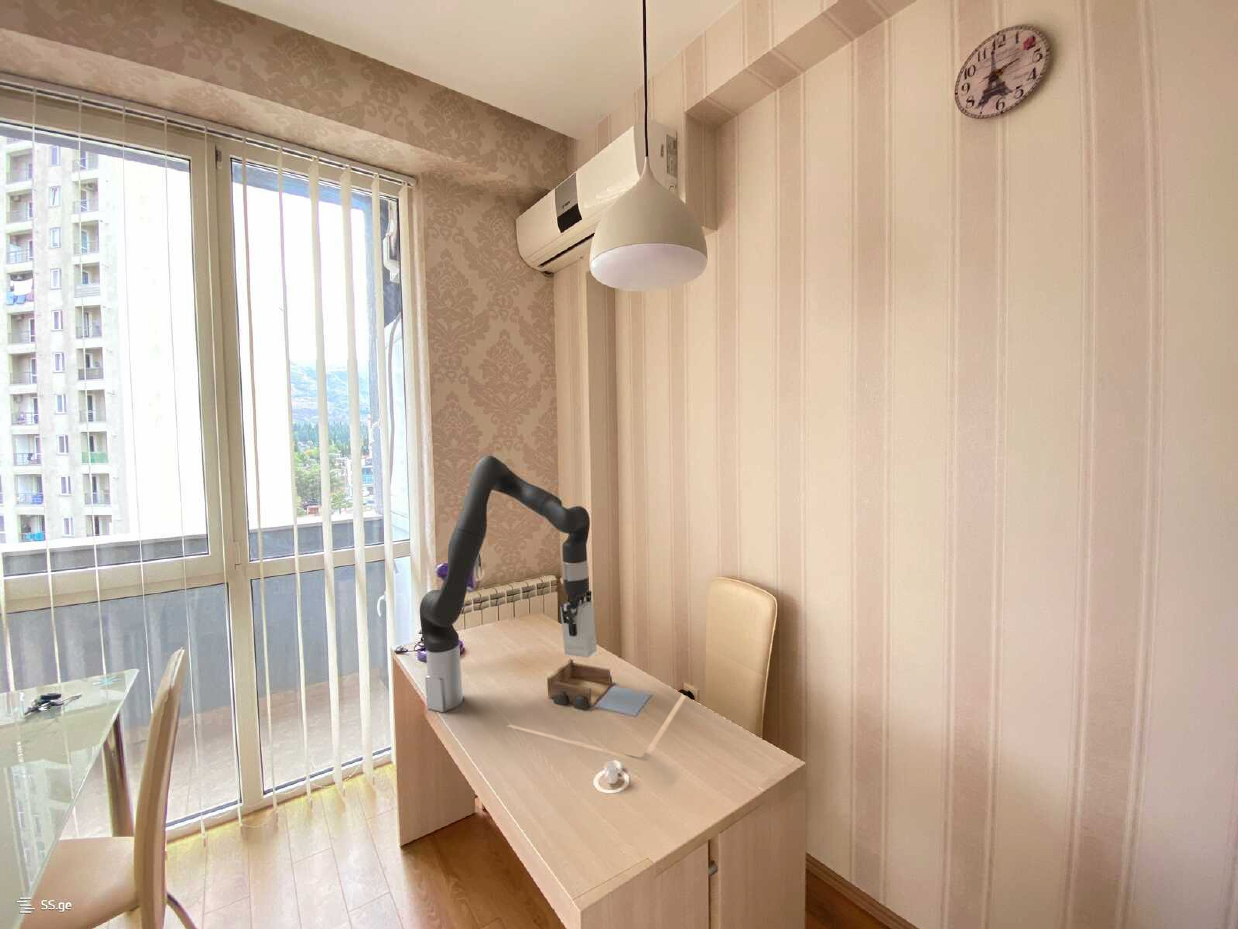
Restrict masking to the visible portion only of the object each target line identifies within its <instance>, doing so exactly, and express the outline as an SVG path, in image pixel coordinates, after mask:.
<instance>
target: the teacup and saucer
mask: <svg viewBox="0 0 1238 929" xmlns="http://www.w3.org/2000/svg"><path fill="white" fill-rule="evenodd" d="M603 768H604V769H603V770H601V771H600V772H598V773H597V774H596V775H595V776H594V779H593V786H594V787H595V789H596V790H597V791H599V792H601V793H604V794H609V795H611V794H618V793H620V792H622V791H624V790H625V789H627V788H628V786H629V784H630V776H629V775H628V774H627V772H625V771H624V770H623V764H622V762H621V761H619V760H610V761H606V762H605V763H604V765H603ZM619 774H620V775H621V776H622V777H623V779H624V782H623V784H622V785H621V787H619V788H616V789H612V790H611V789H610V790H609V789H605V788H603V787H601V785H600V784H599V780H600V778H601V777H602V776H603V775H604V777H605V780H606V783H607V784H609V785H614V784H617V782H618V780H619Z"/></svg>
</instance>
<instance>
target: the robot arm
mask: <svg viewBox="0 0 1238 929" xmlns="http://www.w3.org/2000/svg"><path fill="white" fill-rule="evenodd" d="M492 491H495V492H497V493H500V494H504V495H506V496H508V497H511V498H514V499H515V500H517V501H519V502H520V503H521V504H523V505H524V506H525V507H527V508H528V509H530V510H531V511H533V512H535V513H536V514H538V515H540V516H541V517H544V518H545V519H546V520H547V521H548V522H549V523H550V524H551V525H552V526H553V527H554V528H555V529H556V530H557V531H559V532H561V533H564V534H568V536H567V538H566V540H565V541H563V543H562V547H561V548H562V549H561V550H562V583H563V584H562V588H563V593H565V594H566V595H567V599H566V602H565V603H566V604H565V603H562V604H561V606H560V607H561V608H562V616H563V623H565V624H568V625H569V635H570V636H574V637H575V636H576V635H577V627H576V619H577V616H578V607H580V606H581V604H582V603H585V602H592V593H593V592H592V590H590V576H589V572H590V571H589V564H588V553H587V550H588V549H587V543H588V539H589V533H590V525H591V524H590V522H591V519H590V515H589V512H588V511H587V509H586V508H585V507H584V506H581V505H578V506H577V505H575V506H572V507H570V508H567V507H564V506H563V502H562V500H561V499H560V498H559V497H558V496H556V495H555V494H552V493H551V492H549V491H548V490H545V489H544V488H541V487H539V486H537V485H534V484H532V483H530V482H527V481H525V480H523V479H522V478H520V477H519V476H518V475H517V474H515V473H514V472H513V471H512V470H511V469H510V468H509V467H508V466H507V465H506V464H505V463H504V462H502V461H501V460H500V459H498V458H497V457H495V456H494V455H493V456H492V455H486V456H482V458H480V459H479V460H478V461H477V462H476V464H475V465H474V468H473V471H472V474H471V477H470V481H469V486H468V489H467V493H466V496H465V499H464V501H463V505H462V508H461V511H460V513H459V516H458V519H457V522H456V524H455V527H454V529H453V532H452V535H451V537H450V540H449V544H448V549H447V572H446V577H445V580H444V583H443V586H442V588H441V589H433V590H430V591H428V592H427V593H425V595H424V596H423V598H422V599H421V601H420V606H419V620H420V628H421V635H422V639H423V642H424V644H425V654H426V656H425V658H426V669H427V671H426V672H427V675H426V676H425V677H424V682H425V683H424V684H425V696H426V708H427V709H429V710H433V711H435V712H440V713H444V712H446V711H448V710H452V709H454V708H456V707H458V706H460V705H461V704H462V702H463V701H464V700H463V699H464V698H463V697H464V694H463V683H462V682H463V681H462V680H463V679H462V667H461V665H462V664H461V651H460V636H459V633H458V632H457V631H456V629H455V626H454V624H455V623H456V622H457V621H458V619H459V617H460V615H461V613H462V611H463V607H464V604H465V603H464V602H465V598H466V594H467V591H468V587H469V583H470V580H471V577H472V573H473V571H474V568H475V565H476V562H477V559H478V556H479V554H480V552H481V550H482V549H481V548H482V546H483V544H484V540H485V538H486V535H487V534H486V533H487V527H488V525H487V524H488V503H489V498H490V496H491V492H492ZM561 608H560V609H561ZM571 609H576V612H575V613H574V612H572V611H571ZM572 615H573V616H574V617H573V619H572Z"/></svg>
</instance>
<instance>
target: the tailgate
mask: <svg viewBox="0 0 1238 929" xmlns="http://www.w3.org/2000/svg"><path fill="white" fill-rule="evenodd" d="M651 696H652V693H649V692H644V691H640V690H635V689H632V688H627V687H624V686H618V685H615V684H614V685H613V686H612V687H610V688H609V691H607V692H606V694H605V695H603V697H602V698H600V700H598V701H597V702H598V703H596V705H595V709H598V710H604V711H607V712H612V713H617V714H622V715H624V716H625V715H626V716H630V717H634V718H635V717H636V716H637V715H638V714H639V712H640V711H641V710H642V708H643V707H644V705H645V704H646V703H647V702H648V700H649V699H650V698H651Z"/></svg>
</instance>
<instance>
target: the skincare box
mask: <svg viewBox="0 0 1238 929" xmlns="http://www.w3.org/2000/svg"><path fill="white" fill-rule="evenodd" d="M566 603H567V602H565V603H564V604H566ZM593 604H594V603H593V601H591V602H585V603H582V604H581V606H580V607H578V616H577V619H576V627H577V635H576V636H575V637H574V636H570V635H569V625H568V624H565V623H563V616H562V608H561V606H560V608H559V609H560V618H561V629H562V639H563V640H562V641H563V648H564V649H563V650H564V655H566V656H571V657H572V656H573V657H581V658H587V659H589V658H590V657H591V656H592V655H594V653H595V652H596V651H597V650H598V648H597V638H596V627H595V626H596V625H595V616H594V605H593ZM571 611H572V612H574V613H575V612H576V609H571ZM573 617H574V616H573V615H572V619H573Z"/></svg>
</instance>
